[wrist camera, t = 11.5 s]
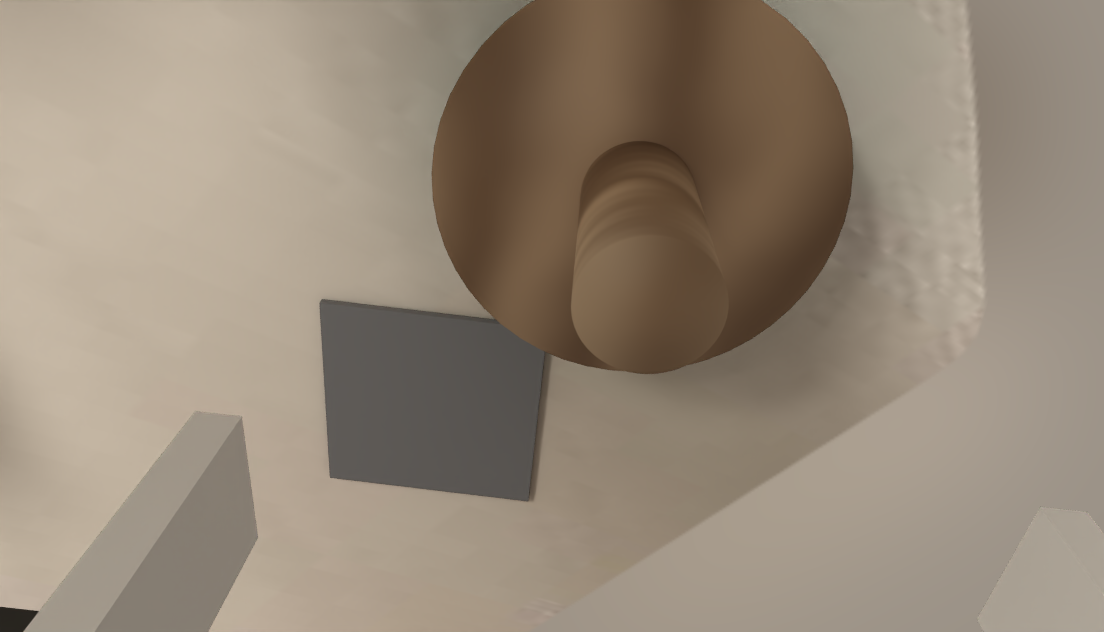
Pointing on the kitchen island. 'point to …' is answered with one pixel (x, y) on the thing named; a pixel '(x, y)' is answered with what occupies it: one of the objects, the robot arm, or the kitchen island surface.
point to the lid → (642, 177)
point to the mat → (429, 400)
